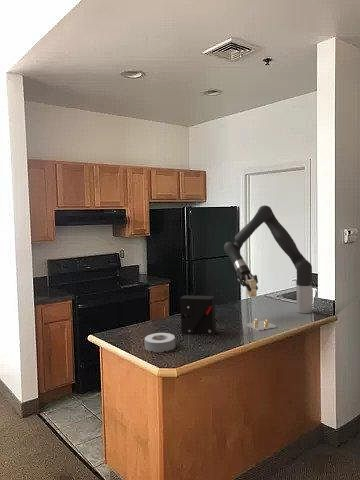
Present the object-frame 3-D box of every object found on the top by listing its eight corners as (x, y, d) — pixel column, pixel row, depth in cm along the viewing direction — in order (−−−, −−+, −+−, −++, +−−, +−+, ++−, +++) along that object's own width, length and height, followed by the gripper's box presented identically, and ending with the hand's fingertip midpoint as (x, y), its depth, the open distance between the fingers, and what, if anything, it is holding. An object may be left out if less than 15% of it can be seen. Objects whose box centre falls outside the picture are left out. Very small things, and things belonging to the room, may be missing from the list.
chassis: (246, 325, 231) (246, 319, 231) (263, 322, 236) (263, 316, 236) (258, 330, 220) (258, 324, 220) (276, 327, 225) (276, 321, 225)
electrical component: (216, 330, 224) (215, 295, 223) (212, 336, 215) (210, 299, 213) (186, 328, 230) (185, 294, 229) (181, 334, 220) (179, 298, 219)
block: (247, 296, 245) (246, 280, 244) (252, 295, 247) (252, 279, 246) (251, 297, 241) (250, 280, 241) (256, 296, 243) (256, 280, 242)
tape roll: (178, 350, 196) (177, 340, 195) (147, 354, 193) (146, 343, 192) (172, 340, 211) (171, 331, 210) (143, 344, 208) (142, 334, 207)
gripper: (234, 265, 246) (246, 288, 236) (253, 263, 252) (266, 285, 242) (230, 273, 252) (241, 295, 241) (248, 270, 257) (260, 292, 247)
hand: (253, 290), depth 242 cm, fingers closed on block, 4 cm apart
